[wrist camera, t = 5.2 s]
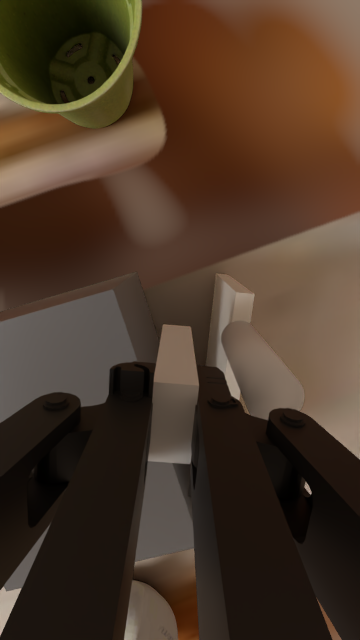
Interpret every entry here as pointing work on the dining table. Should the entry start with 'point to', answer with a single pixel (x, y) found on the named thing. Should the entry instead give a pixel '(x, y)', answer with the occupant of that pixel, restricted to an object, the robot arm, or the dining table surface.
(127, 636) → the teacup
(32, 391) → the box housing
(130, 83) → the plant pot
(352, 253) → the dining table surface
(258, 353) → the door
